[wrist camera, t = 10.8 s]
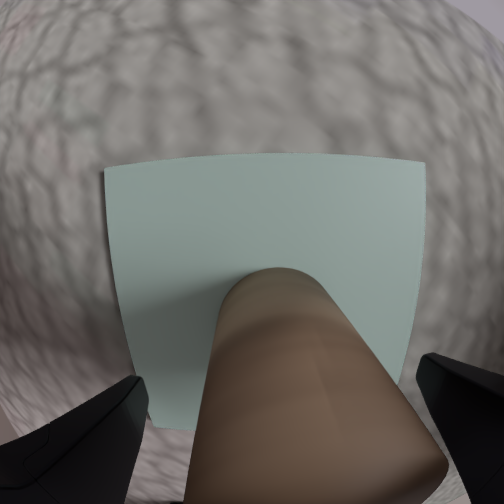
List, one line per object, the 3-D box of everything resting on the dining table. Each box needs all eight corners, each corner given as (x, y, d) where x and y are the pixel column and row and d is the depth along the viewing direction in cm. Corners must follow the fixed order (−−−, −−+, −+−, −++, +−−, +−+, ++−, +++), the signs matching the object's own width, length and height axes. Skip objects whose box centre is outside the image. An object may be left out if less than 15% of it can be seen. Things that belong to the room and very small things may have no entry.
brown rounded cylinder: (327, 364, 12) (397, 527, 3) (223, 371, 12) (205, 554, 3) (336, 264, 11) (493, 409, 2) (214, 269, 11) (141, 470, 2)
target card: (385, 405, 14) (388, 410, 13) (156, 420, 14) (153, 426, 13) (417, 163, 11) (425, 162, 10) (110, 168, 11) (104, 168, 10)
